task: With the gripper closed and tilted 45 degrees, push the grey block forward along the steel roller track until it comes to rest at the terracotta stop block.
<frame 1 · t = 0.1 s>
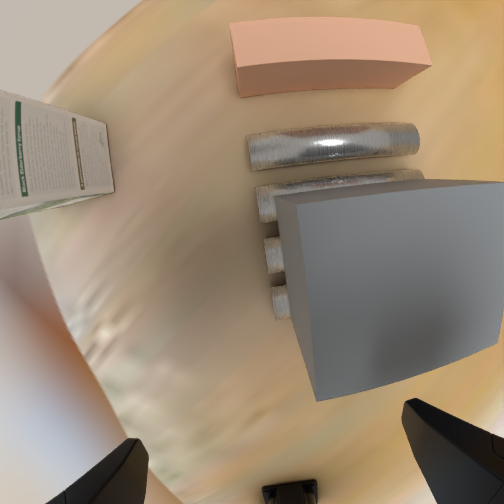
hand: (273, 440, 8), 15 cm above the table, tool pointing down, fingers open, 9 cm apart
grey block: (385, 263, 15), point 7 cm above the table, slide at 0.0 cm
syrup box: (82, 167, 21), on the table
stop block: (318, 71, 19), on the table
roller track: (342, 212, 21), on the table
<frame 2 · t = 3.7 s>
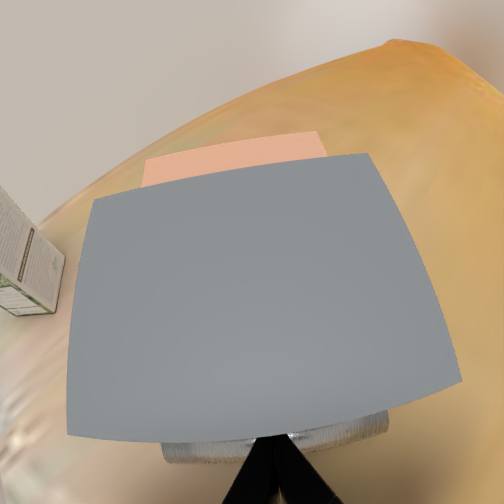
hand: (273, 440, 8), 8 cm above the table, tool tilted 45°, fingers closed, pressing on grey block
grey block: (254, 330, 12), point 7 cm above the table, slide at 1.0 cm, touching gripper
syrup box: (40, 289, 22), on the table
stop block: (242, 214, 24), on the table
roller track: (262, 349, 18), on the table
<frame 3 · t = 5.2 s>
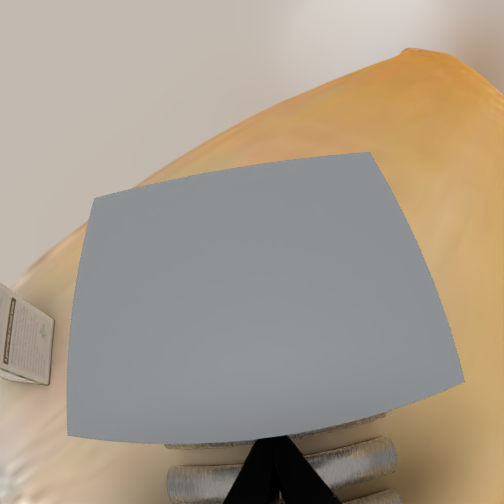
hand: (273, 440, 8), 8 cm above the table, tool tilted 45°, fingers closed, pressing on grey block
grey block: (255, 330, 12), point 7 cm above the table, slide at 7.0 cm, touching gripper
syrup box: (31, 352, 19), on the table
roller track: (277, 445, 15), on the table
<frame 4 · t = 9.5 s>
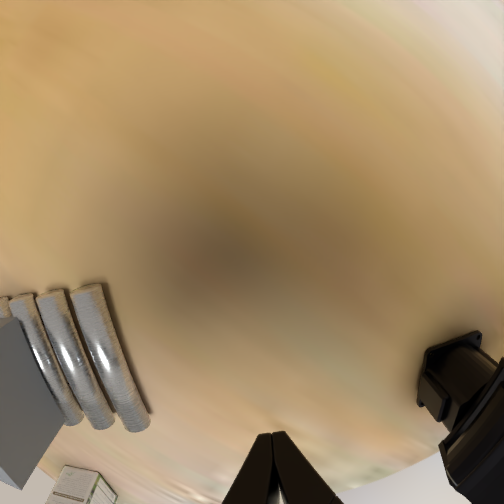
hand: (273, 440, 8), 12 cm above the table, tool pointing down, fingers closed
syrup box: (92, 480, 25), on the table
roller track: (64, 357, 21), on the table
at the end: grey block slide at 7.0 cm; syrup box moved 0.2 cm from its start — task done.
